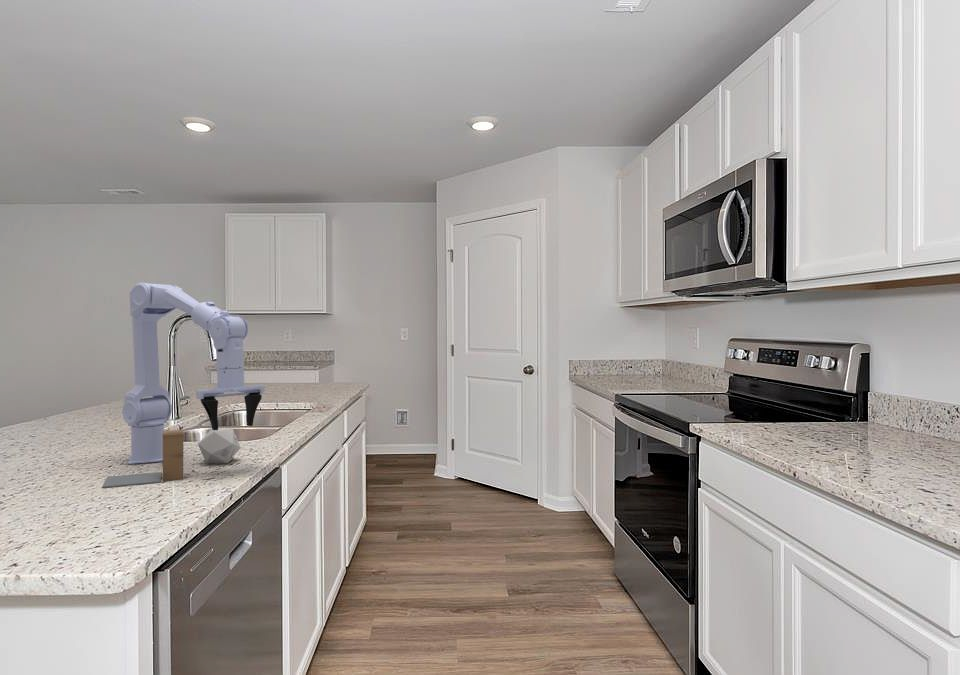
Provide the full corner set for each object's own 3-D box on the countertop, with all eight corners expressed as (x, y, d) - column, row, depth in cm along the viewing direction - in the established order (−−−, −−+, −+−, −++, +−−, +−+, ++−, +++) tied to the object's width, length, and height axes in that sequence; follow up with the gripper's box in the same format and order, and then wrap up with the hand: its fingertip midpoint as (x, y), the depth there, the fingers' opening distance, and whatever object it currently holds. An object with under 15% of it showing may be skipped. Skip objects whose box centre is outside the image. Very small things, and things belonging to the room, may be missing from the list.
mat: (107, 478, 130) (107, 476, 130) (161, 473, 135) (161, 471, 135) (101, 488, 122) (101, 486, 122) (160, 482, 127) (160, 481, 127)
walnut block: (163, 475, 133) (163, 430, 133) (183, 473, 135) (183, 429, 135) (162, 481, 128) (162, 435, 128) (183, 479, 130) (183, 434, 129)
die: (213, 470, 140) (240, 435, 143) (184, 450, 142) (211, 415, 145) (227, 475, 148) (252, 441, 151) (199, 456, 150) (225, 422, 153)
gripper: (201, 370, 128) (203, 433, 128) (268, 366, 137) (270, 425, 137) (192, 370, 133) (195, 430, 133) (257, 366, 143) (259, 422, 143)
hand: (232, 427), depth 136 cm, fingers open, 7 cm apart
